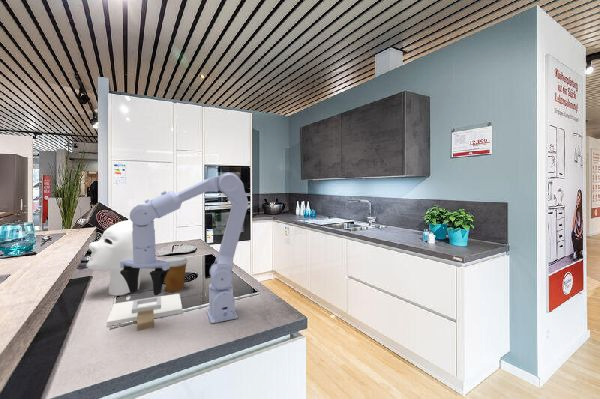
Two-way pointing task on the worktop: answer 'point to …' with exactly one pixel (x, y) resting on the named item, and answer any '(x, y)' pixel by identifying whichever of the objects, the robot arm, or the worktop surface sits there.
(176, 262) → the disposable coffee cup
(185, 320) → the worktop surface
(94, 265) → the mannequin head
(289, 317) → the worktop surface
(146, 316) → the oak cube
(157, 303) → the display stand
